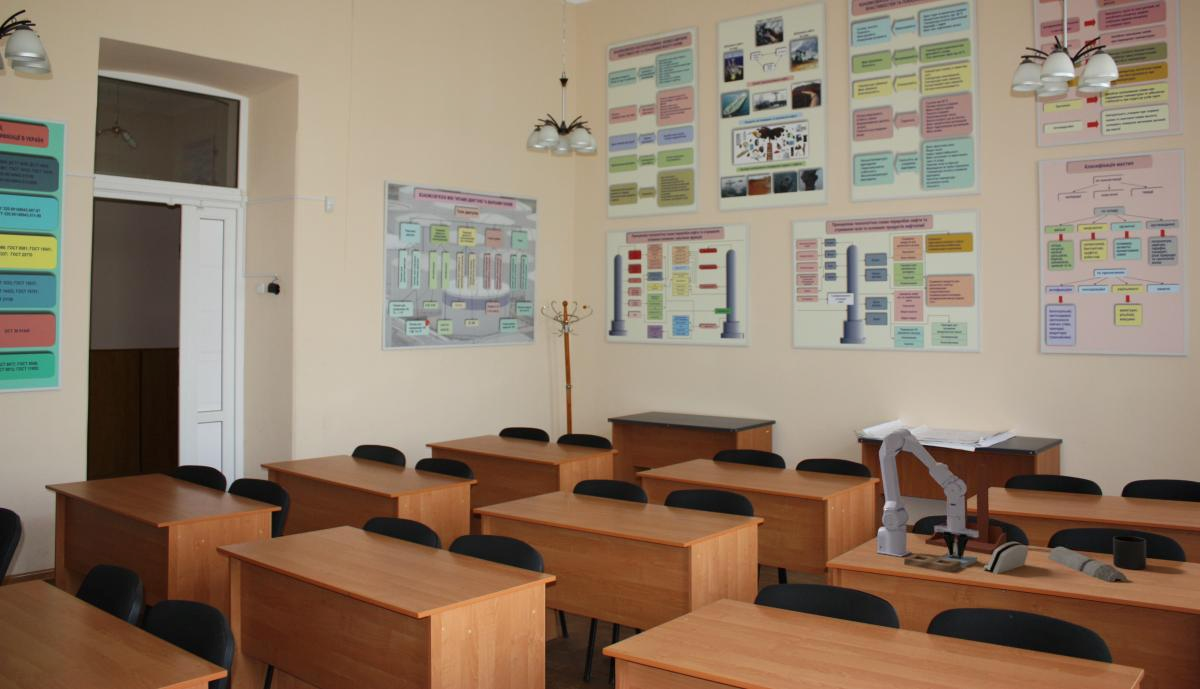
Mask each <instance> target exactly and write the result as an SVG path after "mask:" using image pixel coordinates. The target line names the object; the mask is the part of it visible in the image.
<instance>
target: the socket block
mask: <svg viewBox="0 0 1200 689" xmlns="http://www.w3.org/2000/svg"><path fill="white" fill-rule="evenodd" d="M937 558H943V559H949V560H955V561H961V568H966V567H968V566H971V565H972V564H975V563H977V562H978V556H973V555H967V554H963V556H962V557H961V559H954V558H952V555H950V554H949V551H948V552H946V553H944V554H942V555H939V556H937Z"/></svg>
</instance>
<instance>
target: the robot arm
mask: <svg viewBox="0 0 1200 689" xmlns="http://www.w3.org/2000/svg"><path fill="white" fill-rule="evenodd" d="M900 451H904V452H910V453H912V454H913V455H914V456H915V457H916V458H917V459H918V460H920V461H921V463H923V465H924V466H926V467H927V468H928V472H929V473H928V474H929V475H930V476H931V477H932V478H933V479H934V481H935V482H936V483H938V485H939V486H940V487H941V488H942V489H943V492H944V495H945V496H946V520H947V526H939V525H934V526H933V528H934V529H933V530H934V532H943V533H944V534H943V535H942V536H943V538H944V540H945V542H946V544H947V547H946V548H947V550H948V552H949V554H950V555H952V541H954V540H955V534H957V535H960V536H958V537H957V540H958V546H959V557H962V556H963V555H965V554H964V553H965V547H966V544H967V542H968V540H969V538H970V536H971V537H975V538H977V537H979V531H975V530H971V529H966V528H965V499H964V494H965V493H966V491H967V492H968V486H967V487H966V484H965V483H964V481H963V480H961V479H958V477H957V476H955V475H954V473H952V471H950V469H949V466H948V465H947V464H944V463H943V462H937V461H936V460H935V459H934V457H933V456H932V455H931V454H930V453H929V452H928V450H926V448H925V447H924V446H923V445H922V444H921V443H920V441H919V440H918V438H917V437H916V436H915V435H914V434H912V433H911V431H910V430H908V429H907V428H900V429H898V430H897V429H896V430H892V431H889V432H888V433H887V434H885V436H883V441H882V444H881V446H880V449H879V451H878V455H879V457H878V458H879V462H880V471H881V478H882V485H883V491H884V492H883V493H884V498H885V503H884V506H883V510H882V511H883V515H882V517H881V521H882V524H883V526H880V527H879V528H878V531H877V551H876V553H877V554H883V555H889V556H895V557H900V558H901V557H904V556H907V555H909V554H912V551H911V550H908V547H907V526H906V524H907V523H908V521H909V519H910V518H909V517H910V516H909V513H908V511H907V510H906V506H905V503H904V502H903V501H902V498H901V491H900V490H901V489H900V483H899V476H898V470H897V468H898V467H897V463H896V462H897V461H896V457H897V454H898V453H899V452H900ZM934 532H933V533H934Z"/></svg>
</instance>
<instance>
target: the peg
mask: <svg viewBox="0 0 1200 689" xmlns="http://www.w3.org/2000/svg"><path fill="white" fill-rule="evenodd" d="M952 558H954V559H961V557H959V546H958V541H952Z"/></svg>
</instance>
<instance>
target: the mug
mask: <svg viewBox="0 0 1200 689" xmlns="http://www.w3.org/2000/svg"><path fill="white" fill-rule="evenodd" d="M1112 541H1113V542H1112V543H1113V544H1112V546H1113V547H1112V550H1113V551H1112V552H1113V555H1112V556H1113V557H1112V559H1113V560H1112V561H1113V562H1112V563H1113V566H1115V567H1117V568H1121V569H1124V570H1133V571H1135V570H1137V571H1138V570H1144V569H1146V567H1147V539H1145V538H1143V537H1139V536H1133V535H1131V536H1130V535H1117V536H1116V535H1115V536H1114V537H1112Z"/></svg>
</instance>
